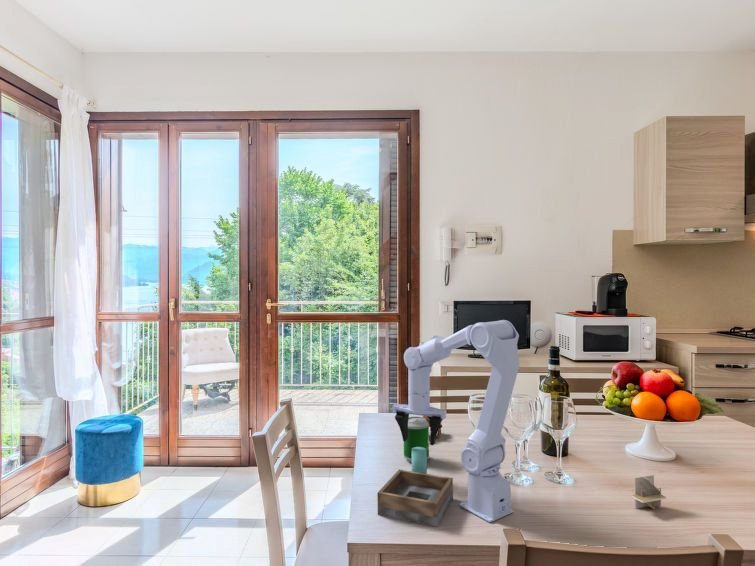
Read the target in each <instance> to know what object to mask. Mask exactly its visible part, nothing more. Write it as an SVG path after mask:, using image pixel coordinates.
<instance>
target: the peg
mask: <svg viewBox="0 0 755 566" xmlns="http://www.w3.org/2000/svg"><path fill="white" fill-rule="evenodd" d="M427 461H428V459H427V450H426V448H423V447H414V448H412V463H411V471H412V472H418V473H424V474H428V465H427V463H428V462H427Z"/></svg>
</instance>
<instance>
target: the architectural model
mask: <svg viewBox="0 0 755 566" xmlns="http://www.w3.org/2000/svg"><path fill="white" fill-rule="evenodd" d="M631 497H632V498H633V499H634V509H641V508H642V509H643V508H646V507H647V508H648V507H649V508H651V509H653V510H655V509H656V507H657V508H659V509H662V500H666V499H667V496H665V495H663V494H662V488H661V487H659V488H658V487H657V486H656V485H655V475H654V474H650V475H649V474H648V475H644V476H643V475H642V476H636V477H634V494H632V495H631Z"/></svg>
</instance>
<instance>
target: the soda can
mask: <svg viewBox="0 0 755 566" xmlns="http://www.w3.org/2000/svg"><path fill="white" fill-rule="evenodd" d="M429 431H430V427H429V424H428V422H427V421H426V419H425V418H423V416H409V419H408V439H407V440H406V441H403V458H404V459H405V460H406V461H407V462H408V463H411V464H412V448H414V447H423V448H426V450H427V460H428V459H429V457H430V440H429V439H430V438H429V437H430V432H429Z"/></svg>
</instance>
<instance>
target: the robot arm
mask: <svg viewBox="0 0 755 566" xmlns="http://www.w3.org/2000/svg"><path fill="white" fill-rule="evenodd" d="M519 337H520V335H519V333H518V331H517V330H516V328H515V326H514V325H513V323H512V322H511V321H509V320H505V319H502V320H501V319H499V320H495V321H486V322H485V321H484V322H483V321H482V322H476V323H474V324H470V325H467V326H466V327H464V328H462V329H461V330H458V331H457V332H455V333H453V334H451V335H449V336H447V337H444V336H440V335H432V336H430V340H428V341H426V342H422V341H421V342H420V343H418V344H419V345H418V346H414V347H413V346H410V347H408V348H406V350H405V351H404V353H403V361H404V364H405V366H406V368H407V369H408V370H407V372H408V375H407V377H408V379H407V383H408V384H407V386H408V387H407V388H408V390H407V391H408V398H407V399H408V401H407V403H408V404H402V403H401V404H400V403H399V404H397V403H394V404H393V405H392V413H393V414H395V415H394V419H395V421H396V423H397V425H398V427H399V431H400V433H401V436H402V441H403V442H404V441H406V440H407V439H408V419H409V417H410V415H413V416H414V415H415V416H420V417H423V416H429V417H432V418H431V419H430V420H429V423H430V427H429V431H430V432H429V433H430V435H429V437H430V438H429V439H430V440H429V446H434V445H435V444H436V439H437V434H438V429H439V426H440V424H442V421H443V420H445V419H446V418H447V409H441V408H439V407H438V408H437V407H434V406H431V405H430V404H431V403H430V402H431V399H430V397H431V396H430V395H431V392H430V391H431V385H430V383H431V381H430V379H431V372H432V367H433V365H434V364H436V363H439V362H440V361H443V360H445V359H448V357H450V355H451V353H452V351H453V350H455V349H458V348H460V347H463V346H466V345H468V346H473V347H474V349H476V350H477V351H478V353H479V354H480V355H481V356H482V357H483V358H484V359H485V360H486V361H487V363H489V364H490V366H491V370H490V371H491V372H490V376H489V379H488V383H487V386H486V387H487V388H486V391H485V394H484V398H483V402H482V406H481V411H480V414H479V419H478V423H477V424H476V425H477V426H476V429H475V430H474V431H473V432H472V433H471V435H470V436H469V437H468V438H467V440H466V441H467V442H466V444H465V445H464V447H462V449H461V451H460V455H459V456H460V461H461V464H462V467H463V468H464V469H465V472H467V500H466V501H463V502H461V503H459V507H461V508H463V509H465V510H466V511H469V512H470V513H472V514H474V515H475V516H477V517H479V518H481V519H483V520H484V521H486V522H489V523H493V522H495V521H496V520H499V519H501V518H503V517H506V516H508V515H510V514H512V513H513V512H514V509H512V507H511V505H512V504H511V502H512V501H511V491H512V490H511V484H510V481H509V480H508V479H507V478H505V477H504V476H503V475H502V474H501V472H500V469H501V464H502V463H503V462H504V461H505V459H506V446H505V445H506V441H507V440H506V438H505V437H504V435H503V434H502V430H503V427H504V423H505V420H506V418H507V412H508V409H509V405H510V402H511V399H512V394H513V391H514V387H515V384H516V380H517V376H518V372H519V369H520V358H519V351H518V341H519ZM477 351H476V352H477Z"/></svg>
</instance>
